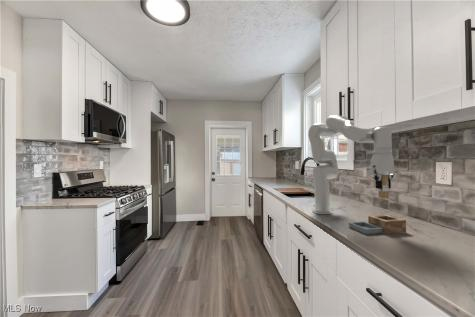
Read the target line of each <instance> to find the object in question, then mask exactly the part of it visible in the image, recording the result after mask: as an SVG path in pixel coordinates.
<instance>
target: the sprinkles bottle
mask: <svg viewBox="0 0 475 317" xmlns="http://www.w3.org/2000/svg"><path fill="white" fill-rule="evenodd" d="M388 175H389V173H388V171H386V172H385V174H383V175H382V176H381V180H380V181H382V189H378V188H377V191H378V192H377V193H378V195H377V196H378V198H380V199H389V197H390V194H389V192H390V189H389V183H388Z"/></svg>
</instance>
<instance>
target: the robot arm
mask: <svg viewBox="0 0 475 317" xmlns="http://www.w3.org/2000/svg"><path fill="white" fill-rule="evenodd" d="M338 133H340V134H342V135H343V137H345V139H348V140H350V141H353V142H354V143H359V144H360V143H361V144H373V154H372V157H371V159H370V160H371V163H370V173H369V176H371V177H372V178H373V179H374V181H375V189H377V190H378V189H382V181H380V180H381V176H382V175H383V174H385V172H386V171H388V173H389V175H388V183H389V190H390V189H391V188H392V184H391V182H392V180H393V178H394V176H396V174H397V173H396V171H395V160H394V156H393V149H392V148H393V147H392V146H393V142H392V139H393V138H392V135H393V134H392V128H391V127H390V126H380V127H379V126H378V127H375V128H361V127H358V126H355V124H354V122H353V121H352V120H350V119H349V118H348V117H347V116H344V115H336V114H335V115H329V116H328V117H327V118H326V120H325V123H322V122H321V123H320V122H317V123H313V124H312V125H311V126H310V127H309V129H308V133H307V134H308V140H309V143H310V148H311V155H312V160H313V162H314V163H315V164H318V165H317V166H315V167H314V168H313V169H312V177H313V182H314V183H313V184H314V205H313V207H314V208H313V209H312V213H315V214H318V215H331V214H333V213H334V212H333V210H331V194H330V192H331V191H330V189H331V188H330V183H329V181H328V180H333V179H336V178H337V177H338V176H339V167H338V161H337V156H336V153H335V152H334V151H333V150H331V149H326V148H325V143H324V141H323V139H322V138H321V137H332V136H334V135H337V134H338ZM319 164H320V165H319ZM321 164H322V165H321ZM323 164H324V165H323Z"/></svg>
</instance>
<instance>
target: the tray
mask: <svg viewBox="0 0 475 317" xmlns="http://www.w3.org/2000/svg"><path fill="white" fill-rule="evenodd" d="M348 228H349V229H352V230H354V231H357V232H359V233H361V234H364V235H365V236H370V235H382V234H384V233H383V228H381V227H378V226H375V225H372V224H370V223H368V221H367V222H366V221H353V222H348Z"/></svg>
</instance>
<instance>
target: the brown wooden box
mask: <svg viewBox="0 0 475 317" xmlns="http://www.w3.org/2000/svg"><path fill="white" fill-rule="evenodd" d="M367 223H370V224H372V225H375V226H378V227H381V228H383V234H385V235H395V234H396V235H397V234H405V233H407V221H406V219H403V218H399V217H397V216H392V215H389V214H378V215H368V220H367Z"/></svg>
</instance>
